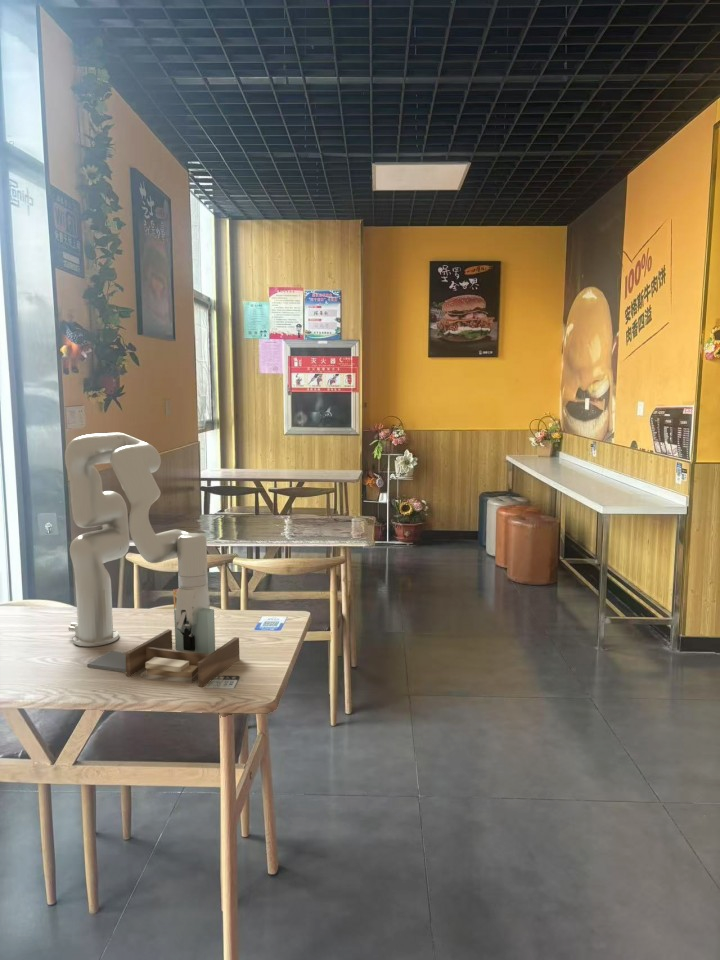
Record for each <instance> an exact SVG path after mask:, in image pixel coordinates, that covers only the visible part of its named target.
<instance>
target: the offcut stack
mask: <svg viewBox="0 0 720 960" xmlns="http://www.w3.org/2000/svg"><path fill="white" fill-rule="evenodd" d="M144 669H145V670H144V671H142V672H141V673H140V678H141V679H147V680H148V679H149V680H157V681H168V682H169V681H170V682H177V683H178V682H180V683H188V684H192V683H194V682H195V681H196V680H198V666H195V665H189V661H185V660H176V659H168V658H160V657H154V658H152V659H150V660H149V661H147V662H146V663H145V668H144Z"/></svg>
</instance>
